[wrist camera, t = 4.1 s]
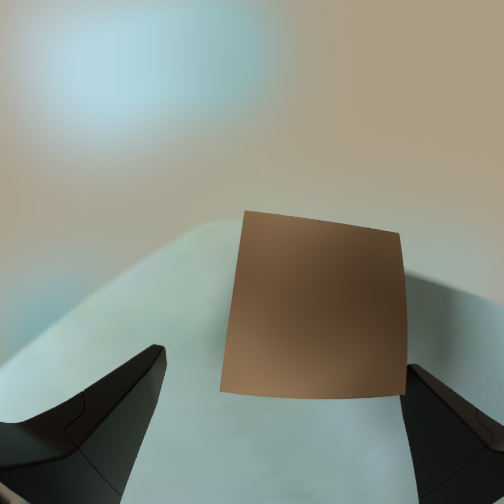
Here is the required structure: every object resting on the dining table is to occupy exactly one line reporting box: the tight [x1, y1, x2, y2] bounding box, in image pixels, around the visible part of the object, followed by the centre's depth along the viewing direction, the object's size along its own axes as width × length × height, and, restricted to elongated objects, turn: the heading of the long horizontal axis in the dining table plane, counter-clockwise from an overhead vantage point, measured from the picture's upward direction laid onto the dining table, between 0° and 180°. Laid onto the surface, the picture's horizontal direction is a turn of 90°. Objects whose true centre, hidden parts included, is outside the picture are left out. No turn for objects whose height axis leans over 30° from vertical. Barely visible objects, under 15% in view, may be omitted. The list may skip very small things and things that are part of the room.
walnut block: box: [220, 211, 407, 399], centre depth 12 cm, size 4×4×13 cm
